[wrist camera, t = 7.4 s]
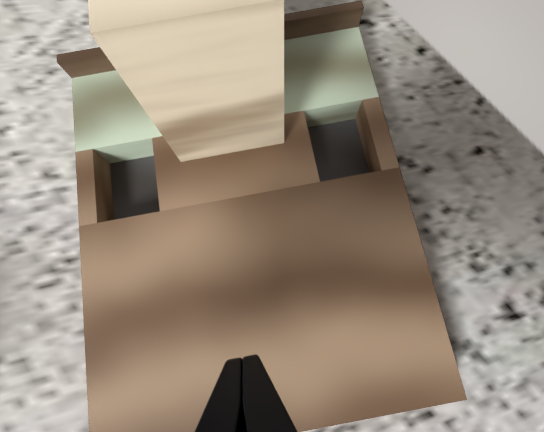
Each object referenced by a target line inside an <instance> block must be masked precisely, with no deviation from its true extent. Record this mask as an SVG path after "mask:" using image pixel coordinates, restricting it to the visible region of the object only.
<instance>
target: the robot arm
mask: <svg viewBox="0 0 544 432" xmlns="http://www.w3.org/2000/svg"><path fill="white" fill-rule="evenodd" d="M194 432H298V431H297V429H296V427H295V425H294V424H293V422H292V420H291V418H290V416H289V414H288V412H287V410H286V408H285V406H284V404H283V402H282V400H281V398H280V396H279V394H278V392H277V390H276V389H275V387H274V385H273V383H272V381H271V379H270V377H269V375H268V373H267V371H266V369H265V367H264V365H263V363H262V361H261V359H260V357H259V356H258V355H257V354H254V355H249V356H245V357H243V359H242V358H241V357H238V358H233V359H229V360H227V361H226V362H225V364H224V366H223V369H222V371H221V373H220V375H219V377H218V380H217V382H216V384H215V386H214V389H213V391H212V393H211V395H210V398H209V400H208V402H207V404H206V407H205V409H204V411H203V413H202V416H201V418H200V420H199V422H198V425H197V427H196V429H195V431H194Z"/></svg>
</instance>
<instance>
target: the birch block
mask: <svg viewBox="0 0 544 432" xmlns="http://www.w3.org/2000/svg"><path fill="white" fill-rule="evenodd" d="M88 8H89V23H90V34H91V35H92V36H93V38H94V39H95V41H96V42H97V44H98V45H99V46H100V48H101V49H102V51H103V52H104V54H105V55H106V56H107V58H108V59H109V61H110V62H111V63H112V65H113V66H114V68H115V69H116V71H117V72H118V73H119V75H120V76H121V78H122V79H123V80H124V82H125V83H126V85H127V86H128V88H129V89H130V90H131V92H132V93H133V95H134V96H135V98H136V99H137V100H138V102H139V103H140V105H141V106H142V107H143V109H144V110H145V112H146V113H147V115H148V116H149V117H150V119H151V120H152V122H153V123H154V125H155V126H156V127H157V129H158V130H159V132H160V133H161V134H162V136H163V137H164V139H165V140H166V142H167V143H168V144H169V146H170V147H171V149H172V150H173V151H174V153H175V154H176V156H177V157H178V159H179V160H180V161H181V162H183V161H189V160H194V159H200V158H205V157H210V156H216V155H221V154H227V153H232V152H238V151H243V150H249V149H254V148H260V147H265V146H271V145H276V144H282V143H284V0H88Z"/></svg>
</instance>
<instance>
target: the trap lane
mask: <svg viewBox="0 0 544 432" xmlns="http://www.w3.org/2000/svg"><path fill="white" fill-rule="evenodd" d="M363 8H364V7H363V4H362V1H356V2H351V3H345V4H340V5H334V6H328V7H323V8H317V9H311V10H306V11H300V12H295V13H289V14H284V143H282V144H276V145H271V146H265V147H260V148H254V149H249V150H243V151H238V152H232V153H227V154H221V155H216V156H210V157H205V158H200V159H194V160H189V161H183V162H181V161H180V160H179V159H178V157H177V156H176V154H175V153H174V151H173V150H172V149H171V147H170V146H169V144H168V143H167V142H166V140H165V139H164V137H163V136H162V134H161V133H160V132H159V130H158V129H157V127H156V126H155V125H154V123H153V122H152V120H151V119H150V117H149V116H148V115H147V113H146V112H145V110H144V109H143V107H142V106H141V105H140V103H139V102H138V100H137V99H136V98H135V96H134V95H133V93H132V92H131V90H130V89H129V88H128V86H127V85H126V83H125V82H124V80H123V79H122V78H121V76H120V75H119V73H118V72H117V71H116V69H115V68H114V66H113V65H112V63H111V62H110V61H109V59H108V58H107V56H106V55H105V54H104V52H103V51H102V49H101V48H100V47H98V48H92V49H87V50H81V51H75V52H70V53H64V54H58V55H57V63H58V64H59V65H60V66H61V67H62V68H63V69H64V70H65V71H66V72H67V73H68V75H69V76H70V77H71V78H72V93H73V113H74V133H75V153H76V174H77V194H78V214H79V234H80V255H81V275H82V295H83V315H84V336H85V356H86V376H87V397H88V417H89V432H194V431H195V429H196V427H197V425H198V422H199V420H200V418H201V416H202V413H203V411H204V409H205V407H206V404H207V402H208V400H209V398H210V395H211V393H212V391H213V389H214V386H215V384H216V382H217V380H218V377H219V375H220V373H221V371H222V369H223V366H224V364H225V362H226V361H227V360H229V359H233V358H238V357H241V358H242V359H243V357H245V356H249V355H254V354H257V355H258V356H259V357H260V359H261V361H262V363H263V365H264V367H265V369H266V371H267V373H268V375H269V377H270V379H271V381H272V383H273V385H274V387H275V389H276V390H277V392H278V394H279V396H280V398H281V400H282V402H283V404H284V406H285V408H286V410H287V412H288V414H289V416H290V418H291V420H292V422H293V424H294V425H295V427H296V429H297V431H298V432H302V431H307V430H312V429H317V428H322V427H328V426H333V425H338V424H343V423H348V422H353V421H359V420H364V419H369V418H374V417H379V416H384V415H390V414H395V413H400V412H405V411H410V410H415V409H421V408H426V407H431V406H436V405H441V404H446V403H452V402H457V401H462V400H467V398H466V395H465V391H464V388H463V384H462V381H461V377H460V374H459V371H458V367H457V364H456V360H455V357H454V353H453V350H452V346H451V343H450V340H449V336H448V333H447V329H446V326H445V322H444V319H443V316H442V312H441V309H440V305H439V302H438V298H437V295H436V291H435V288H434V285H433V281H432V278H431V274H430V271H429V267H428V264H427V260H426V257H425V254H424V250H423V247H422V243H421V240H420V236H419V233H418V230H417V226H416V223H415V219H414V216H413V212H412V209H411V205H410V202H409V199H408V195H407V192H406V188H405V185H404V181H403V178H402V175H401V171H400V168H399V164H398V161H397V157H396V154H395V150H394V147H393V144H392V140H391V137H390V133H389V130H388V126H387V123H386V119H385V116H384V113H383V109H382V106H381V102H380V99H379V95H378V92H377V89H376V85H375V82H374V78H373V75H372V71H371V68H370V64H369V61H368V58H367V54H366V51H365V47H364V44H363V40H362V37H361V34H360V30H359V23H360V20H361V16H362V12H363Z"/></svg>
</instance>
